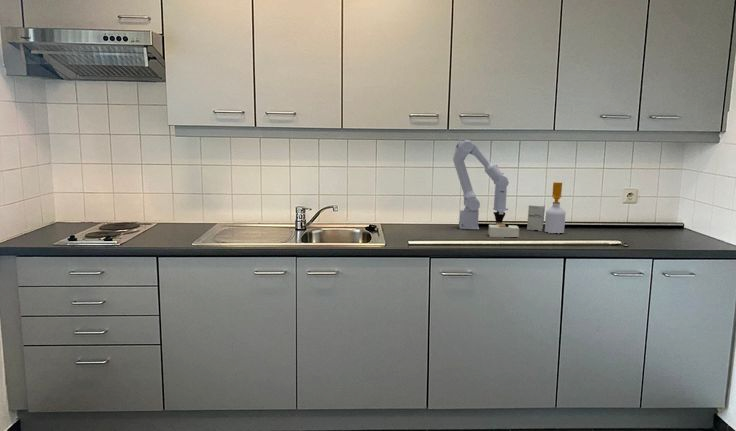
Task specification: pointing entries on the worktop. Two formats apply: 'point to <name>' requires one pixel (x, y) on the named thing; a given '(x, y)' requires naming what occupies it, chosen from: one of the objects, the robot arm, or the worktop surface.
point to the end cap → (503, 231)
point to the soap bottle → (555, 213)
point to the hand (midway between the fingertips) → (498, 226)
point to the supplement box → (535, 217)
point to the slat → (500, 224)
